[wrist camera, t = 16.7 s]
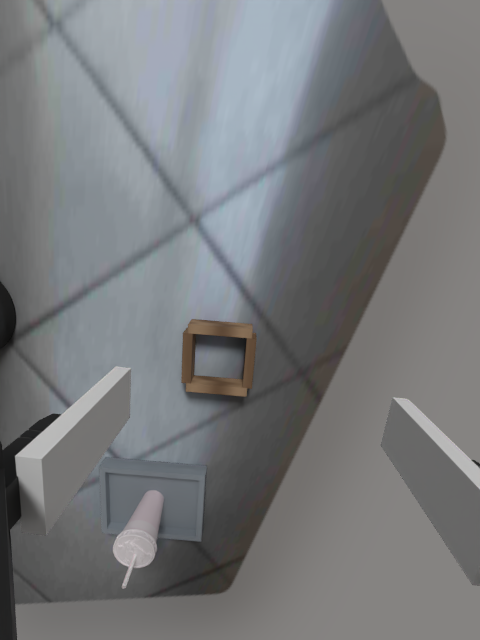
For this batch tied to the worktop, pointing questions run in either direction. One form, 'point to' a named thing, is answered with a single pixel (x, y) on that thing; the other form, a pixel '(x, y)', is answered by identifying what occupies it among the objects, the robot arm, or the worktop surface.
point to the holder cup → (215, 383)
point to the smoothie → (140, 534)
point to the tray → (167, 478)
